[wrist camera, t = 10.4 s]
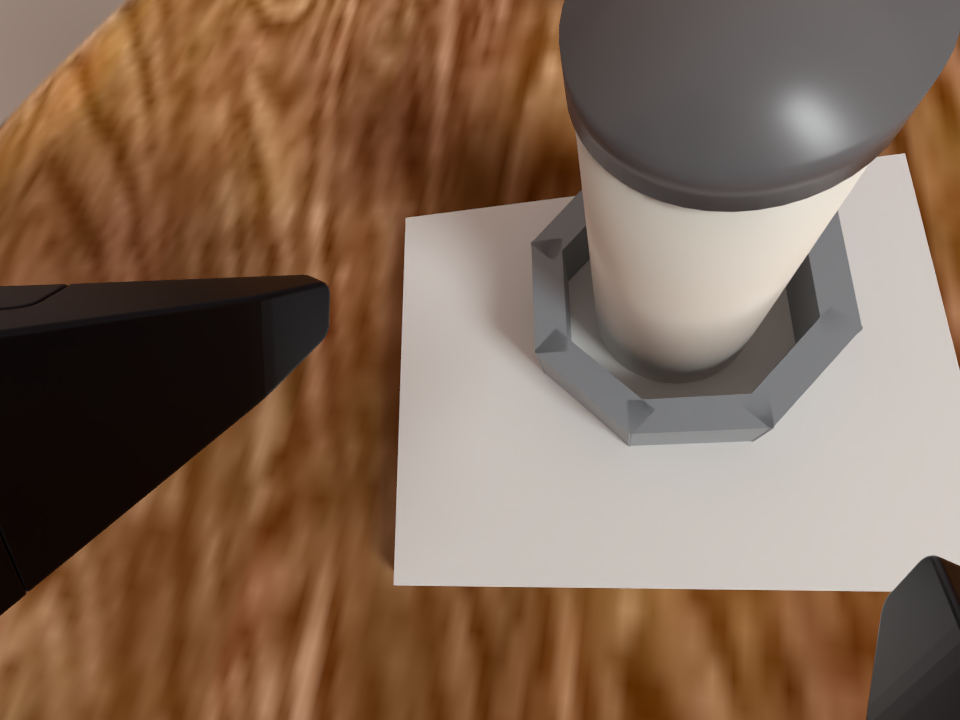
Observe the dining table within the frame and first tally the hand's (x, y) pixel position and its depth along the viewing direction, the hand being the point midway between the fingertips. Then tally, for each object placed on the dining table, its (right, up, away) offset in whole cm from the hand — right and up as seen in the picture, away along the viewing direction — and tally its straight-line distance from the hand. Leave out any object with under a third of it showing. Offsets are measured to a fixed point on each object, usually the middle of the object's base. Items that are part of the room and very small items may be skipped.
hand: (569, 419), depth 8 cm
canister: (+5, +3, +12) cm, 13 cm away
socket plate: (+5, 0, +12) cm, 13 cm away
